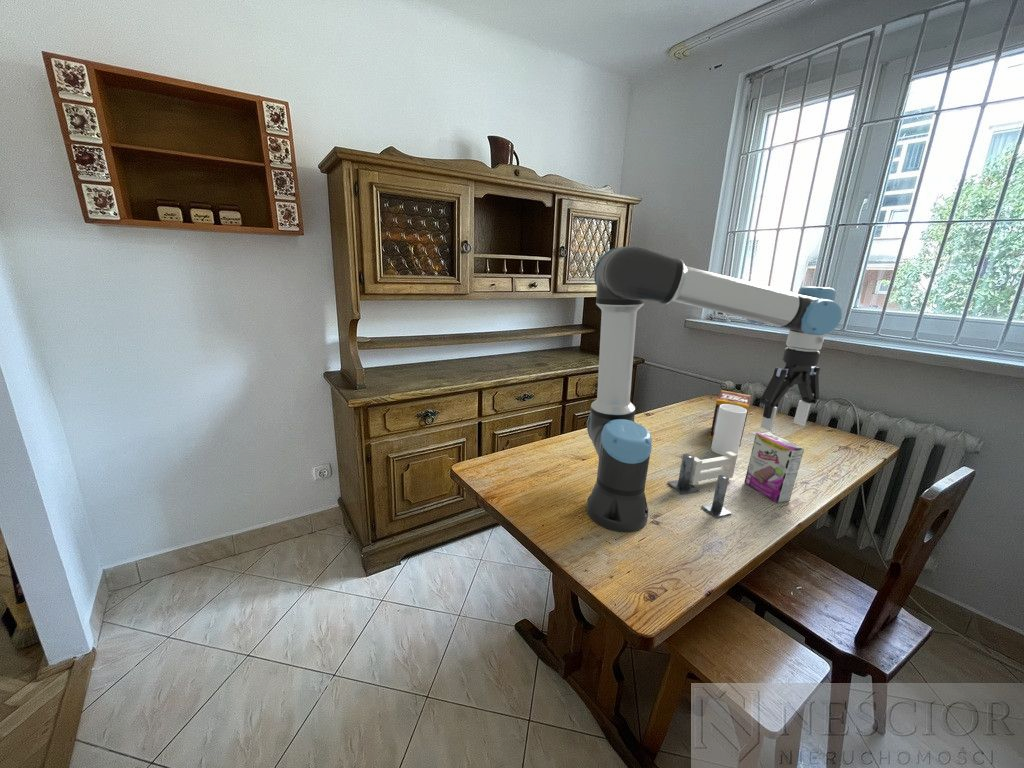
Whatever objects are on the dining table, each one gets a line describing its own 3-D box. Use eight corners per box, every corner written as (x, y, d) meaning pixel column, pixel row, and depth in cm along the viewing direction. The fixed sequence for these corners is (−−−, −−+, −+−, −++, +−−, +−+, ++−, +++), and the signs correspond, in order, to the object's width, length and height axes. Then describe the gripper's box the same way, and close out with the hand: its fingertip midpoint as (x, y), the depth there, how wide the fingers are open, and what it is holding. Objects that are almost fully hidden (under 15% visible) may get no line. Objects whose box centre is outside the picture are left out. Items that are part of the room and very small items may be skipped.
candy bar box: (742, 483, 119) (754, 432, 114) (755, 480, 120) (767, 430, 116) (777, 504, 109) (791, 449, 104) (790, 501, 110) (805, 447, 106)
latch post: (716, 518, 101) (724, 483, 98) (701, 507, 106) (708, 473, 103) (731, 515, 103) (739, 480, 100) (715, 504, 108) (722, 471, 105)
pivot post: (682, 494, 111) (688, 462, 109) (667, 483, 117) (672, 452, 114) (698, 491, 113) (705, 459, 111) (683, 480, 119) (689, 450, 116)
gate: (691, 485, 114) (696, 461, 112) (685, 481, 117) (690, 458, 114) (732, 477, 120) (737, 454, 118) (725, 473, 122) (730, 451, 120)
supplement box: (743, 432, 156) (751, 395, 152) (740, 446, 144) (749, 406, 139) (713, 426, 161) (721, 389, 157) (708, 439, 149) (716, 399, 144)
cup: (740, 457, 135) (750, 413, 130) (714, 454, 136) (723, 411, 132) (732, 447, 143) (742, 405, 138) (708, 444, 144) (716, 403, 139)
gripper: (783, 353, 95) (763, 436, 101) (849, 350, 103) (827, 427, 109) (755, 347, 102) (738, 425, 108) (819, 344, 110) (800, 417, 116)
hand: (782, 426), depth 109 cm, fingers open, 12 cm apart
